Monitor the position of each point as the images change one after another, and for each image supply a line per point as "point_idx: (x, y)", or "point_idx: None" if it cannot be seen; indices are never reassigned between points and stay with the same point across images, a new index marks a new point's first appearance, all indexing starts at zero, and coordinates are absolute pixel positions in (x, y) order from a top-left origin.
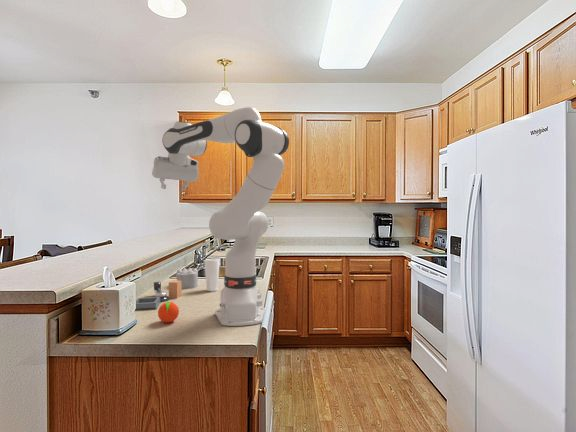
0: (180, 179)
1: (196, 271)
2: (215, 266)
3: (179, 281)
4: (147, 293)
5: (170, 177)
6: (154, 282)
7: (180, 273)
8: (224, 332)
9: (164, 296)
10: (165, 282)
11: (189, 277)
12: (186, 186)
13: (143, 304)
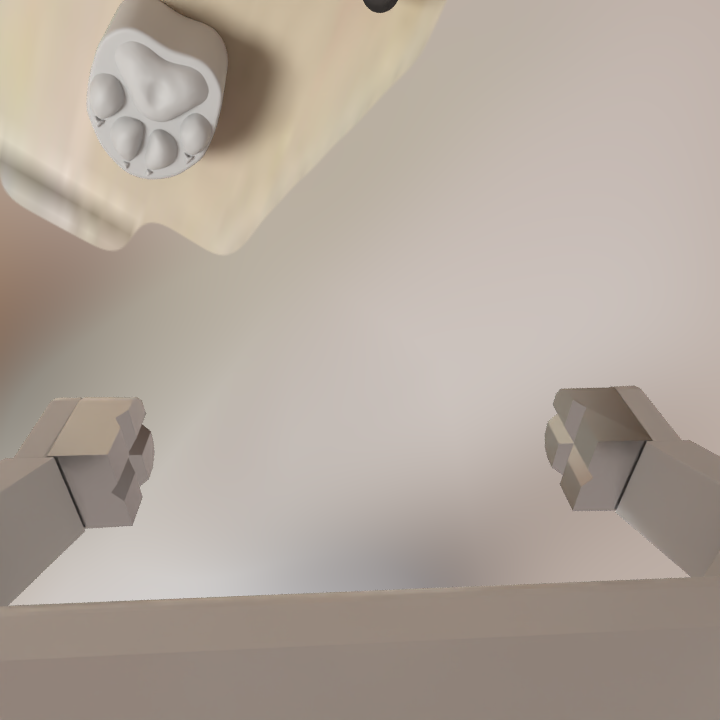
0: (216, 617)
1: (97, 76)
2: None
3: None
4: (385, 58)
5: (695, 637)
6: (392, 3)
7: (205, 85)
8: None
9: None
10: (236, 214)
11: (160, 31)
12: (2, 464)
13: None
